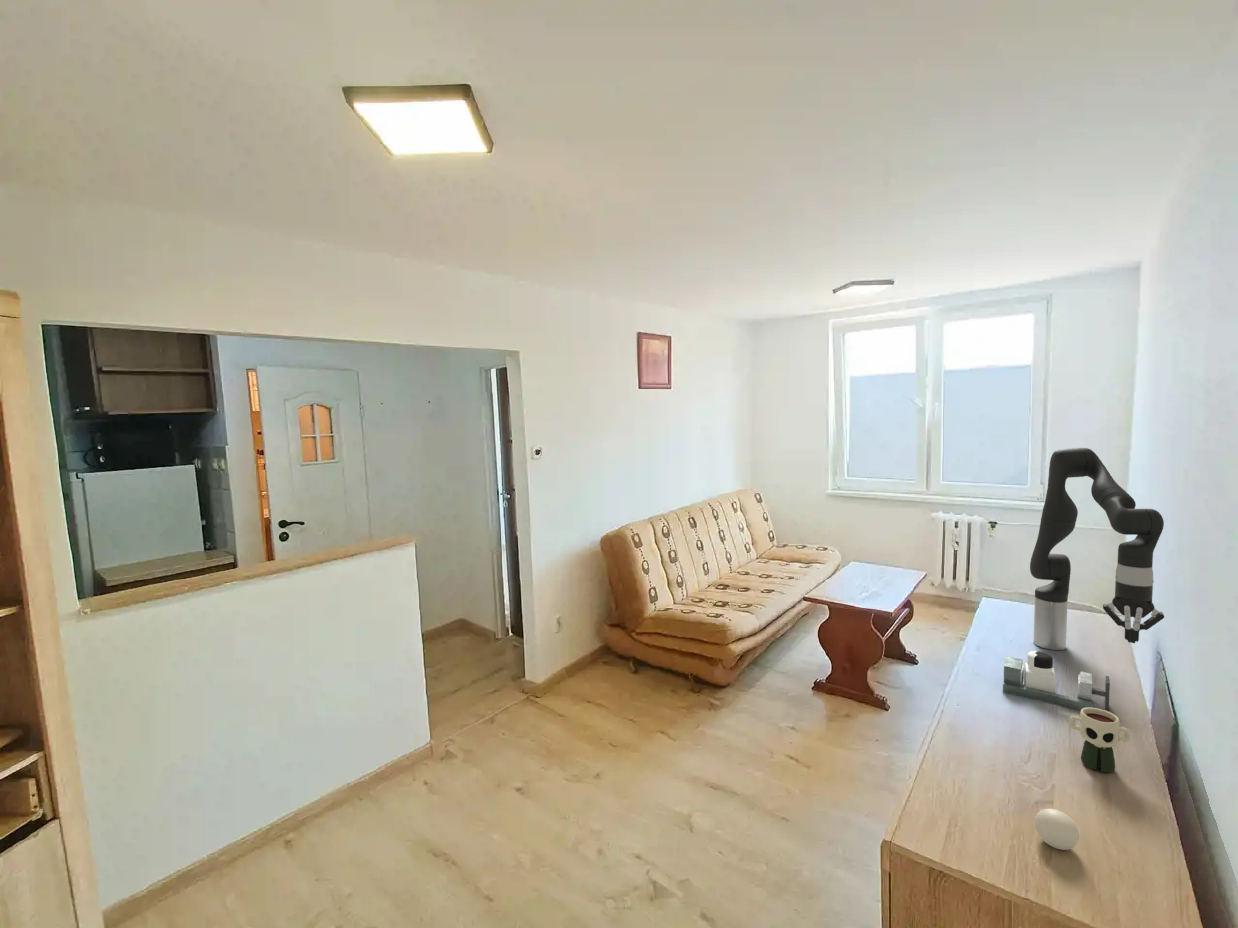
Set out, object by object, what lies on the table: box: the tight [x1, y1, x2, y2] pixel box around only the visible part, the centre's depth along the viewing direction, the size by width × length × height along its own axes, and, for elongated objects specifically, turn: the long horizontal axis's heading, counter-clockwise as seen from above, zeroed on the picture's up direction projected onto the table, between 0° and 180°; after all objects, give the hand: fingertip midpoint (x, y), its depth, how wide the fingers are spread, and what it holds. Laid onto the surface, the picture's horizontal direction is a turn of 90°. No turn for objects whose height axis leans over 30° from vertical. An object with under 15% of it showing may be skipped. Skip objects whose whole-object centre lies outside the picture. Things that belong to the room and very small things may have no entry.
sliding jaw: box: [1077, 671, 1111, 712], centre depth 160 cm, size 8×7×8 cm
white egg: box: [1034, 808, 1080, 851], centre depth 112 cm, size 7×7×7 cm
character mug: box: [1069, 707, 1131, 773], centre depth 133 cm, size 11×7×13 cm, turn 52°
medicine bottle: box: [1023, 650, 1057, 693], centre depth 168 cm, size 7×7×12 cm
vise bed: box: [1002, 656, 1097, 712], centre depth 166 cm, size 10×22×8 cm, turn 50°
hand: (1131, 641), depth 154 cm, fingers closed
